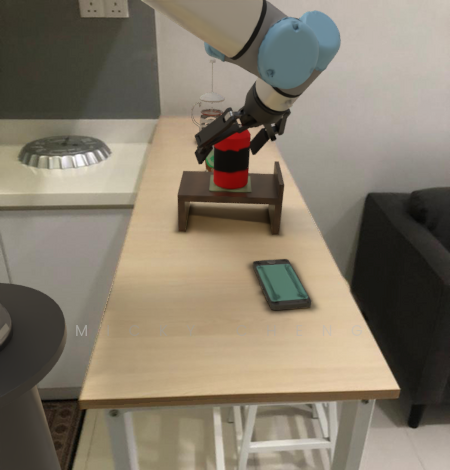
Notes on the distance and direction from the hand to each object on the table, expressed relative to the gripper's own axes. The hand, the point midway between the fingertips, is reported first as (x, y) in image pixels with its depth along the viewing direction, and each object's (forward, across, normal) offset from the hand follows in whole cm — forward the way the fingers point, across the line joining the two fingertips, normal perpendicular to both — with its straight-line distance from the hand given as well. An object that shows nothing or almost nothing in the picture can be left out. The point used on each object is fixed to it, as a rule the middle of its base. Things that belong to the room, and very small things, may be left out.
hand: (225, 153), depth 100 cm
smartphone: (-11, -6, -32) cm, 34 cm away
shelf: (+9, 0, -12) cm, 15 cm away
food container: (+25, +12, +4) cm, 28 cm away
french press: (+46, +24, +25) cm, 57 cm away
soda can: (+2, 0, -6) cm, 6 cm away
